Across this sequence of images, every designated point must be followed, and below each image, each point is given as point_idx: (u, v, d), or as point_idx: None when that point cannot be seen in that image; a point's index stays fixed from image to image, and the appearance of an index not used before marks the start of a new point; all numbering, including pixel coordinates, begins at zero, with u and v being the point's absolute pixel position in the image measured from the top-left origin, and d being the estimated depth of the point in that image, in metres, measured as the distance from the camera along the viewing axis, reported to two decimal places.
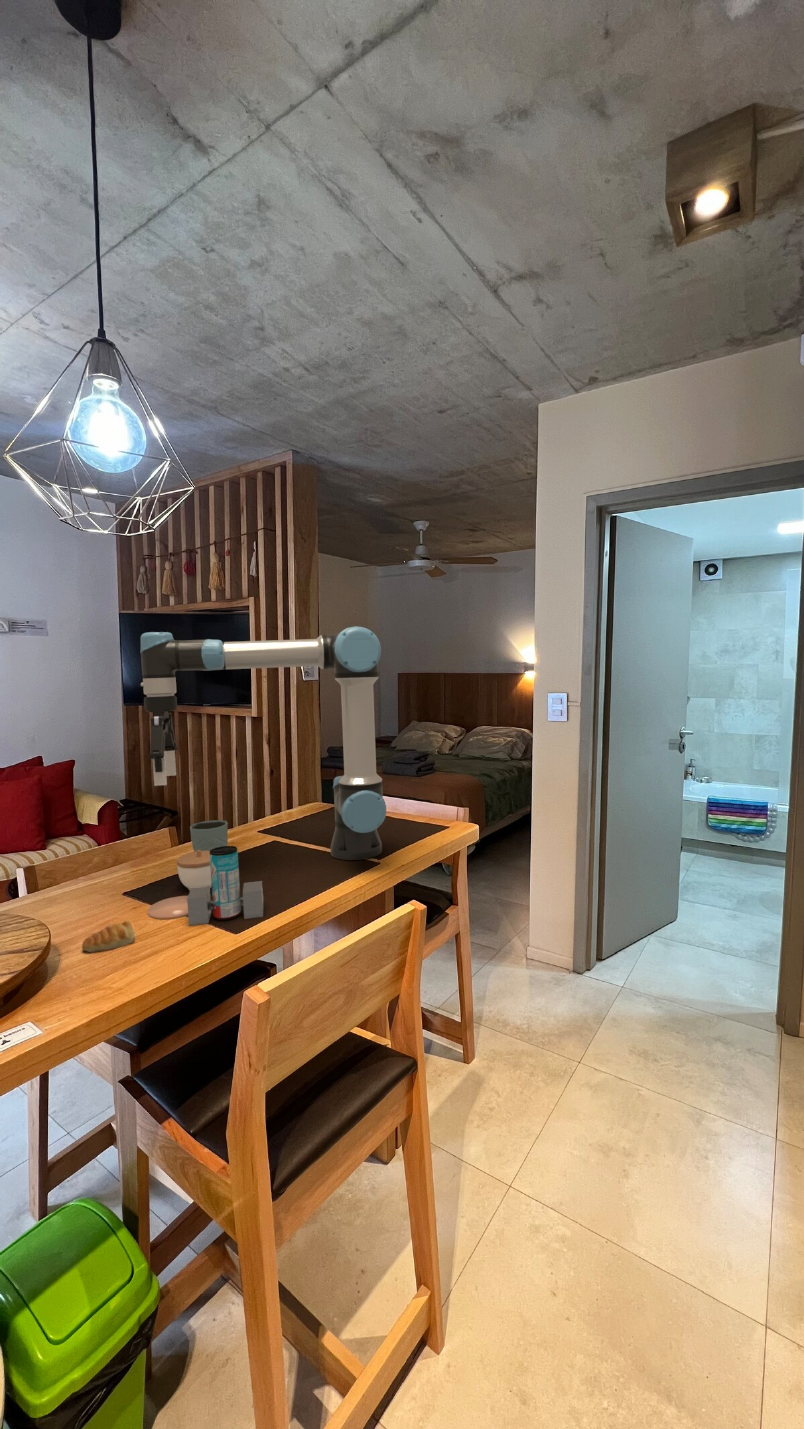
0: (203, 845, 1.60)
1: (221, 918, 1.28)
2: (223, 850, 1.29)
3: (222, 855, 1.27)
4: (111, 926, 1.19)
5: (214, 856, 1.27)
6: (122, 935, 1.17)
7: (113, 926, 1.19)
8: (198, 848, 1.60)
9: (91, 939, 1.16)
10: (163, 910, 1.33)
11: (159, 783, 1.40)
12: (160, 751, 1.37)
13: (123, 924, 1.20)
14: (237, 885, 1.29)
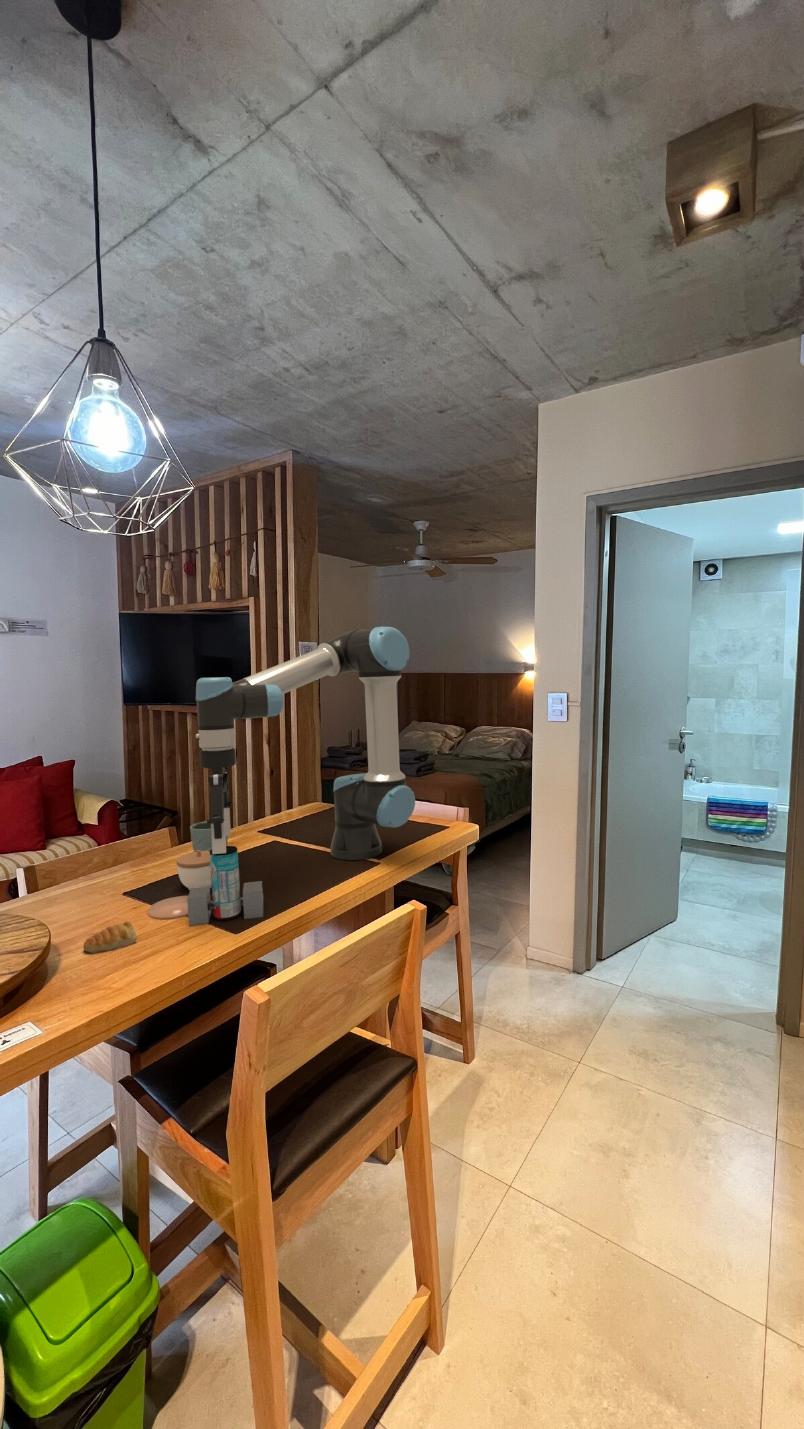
0: (203, 845, 1.60)
1: (221, 918, 1.28)
2: None
3: (222, 855, 1.27)
4: (112, 926, 1.19)
5: (214, 856, 1.27)
6: (124, 935, 1.17)
7: (114, 926, 1.19)
8: (198, 848, 1.60)
9: (92, 939, 1.15)
10: (163, 910, 1.33)
11: (218, 851, 1.22)
12: (221, 816, 1.19)
13: (125, 924, 1.20)
14: (237, 885, 1.29)
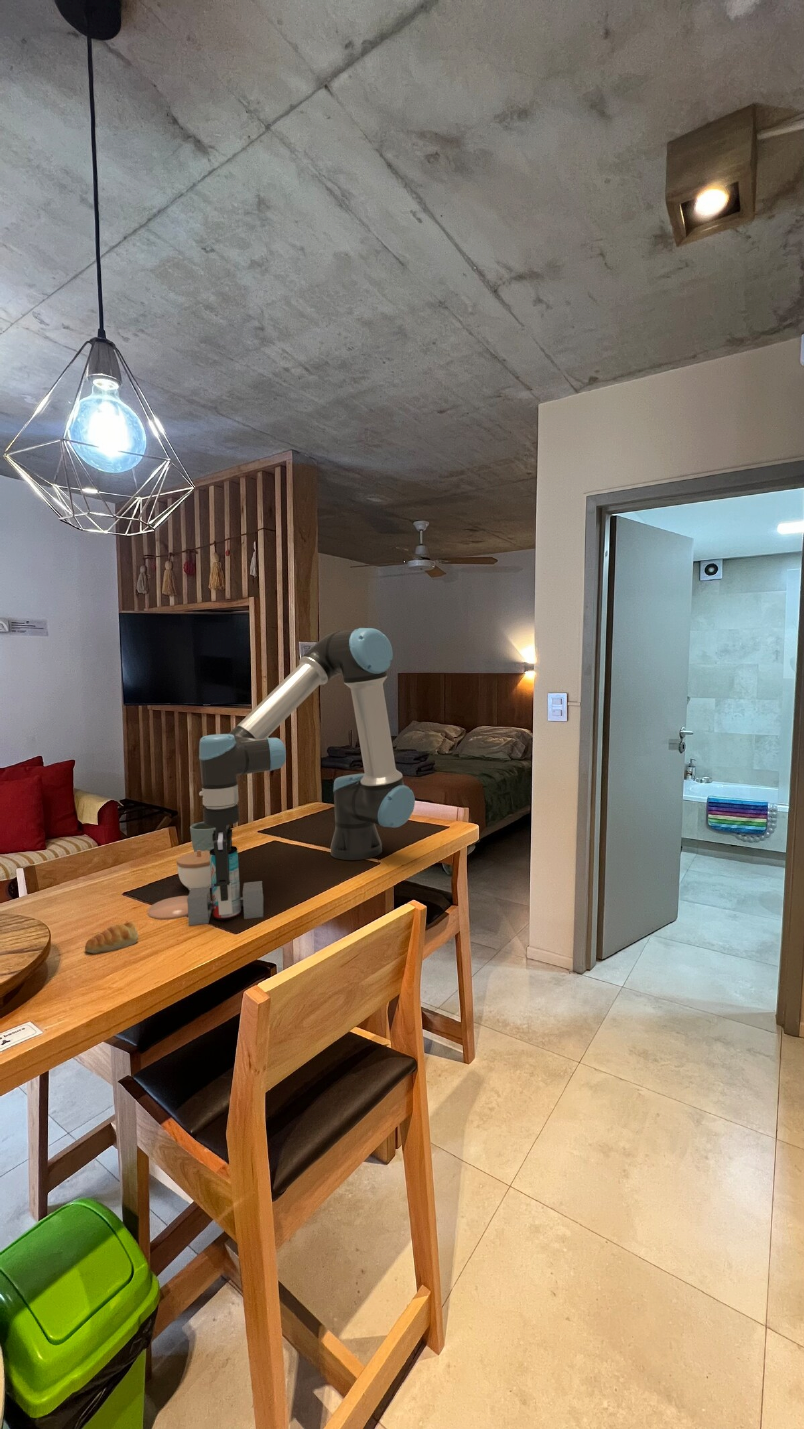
0: (203, 845, 1.60)
1: (221, 918, 1.28)
2: None
3: None
4: (114, 927, 1.19)
5: (214, 856, 1.27)
6: (126, 935, 1.17)
7: (116, 927, 1.19)
8: (198, 848, 1.60)
9: (94, 940, 1.15)
10: (163, 910, 1.33)
11: (224, 912, 1.27)
12: (227, 880, 1.24)
13: (126, 925, 1.20)
14: (237, 885, 1.29)
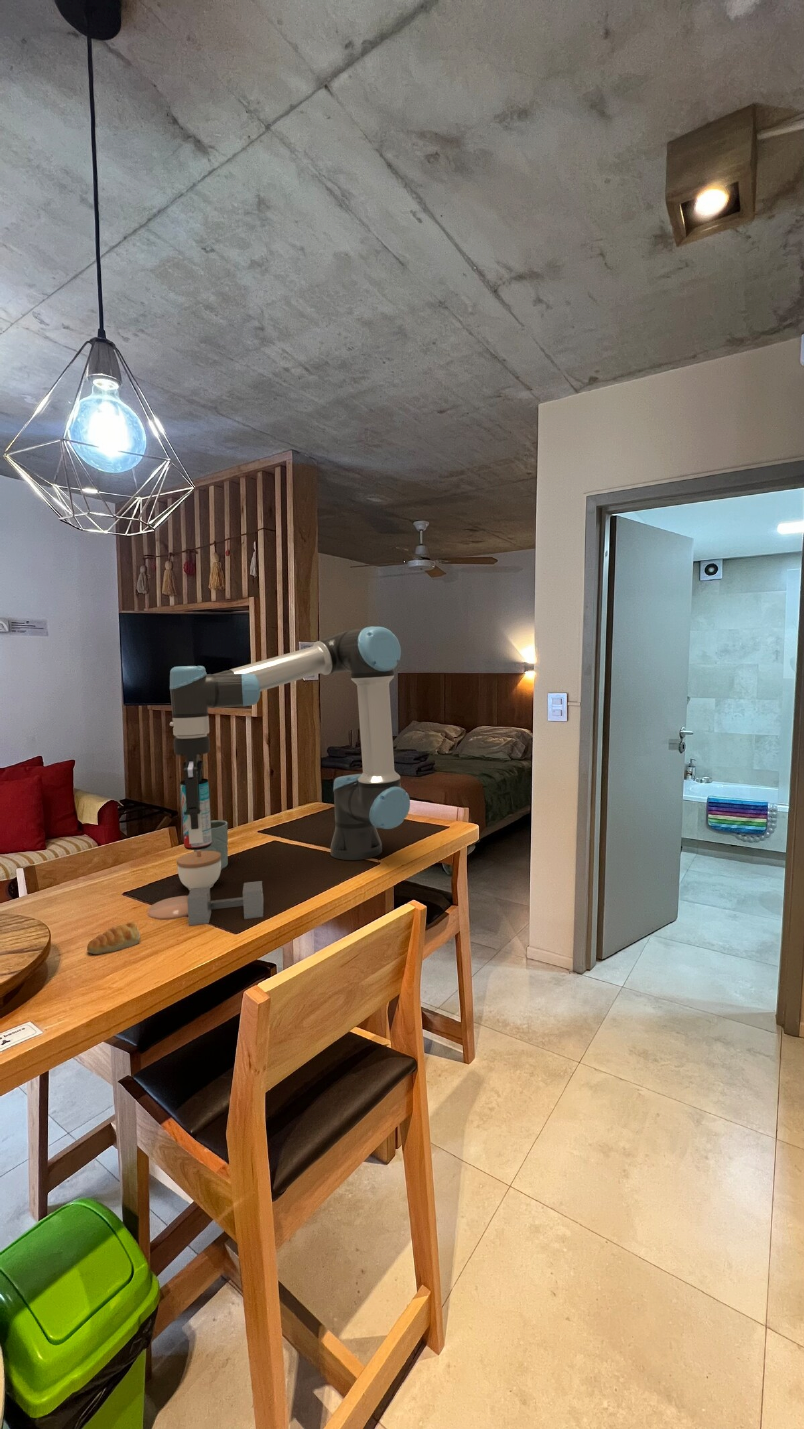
0: None
1: (191, 847, 1.29)
2: None
3: None
4: (115, 927, 1.18)
5: None
6: (128, 936, 1.17)
7: (118, 927, 1.18)
8: None
9: (96, 941, 1.15)
10: (163, 910, 1.33)
11: (195, 841, 1.28)
12: (197, 808, 1.25)
13: (128, 925, 1.20)
14: (208, 816, 1.30)
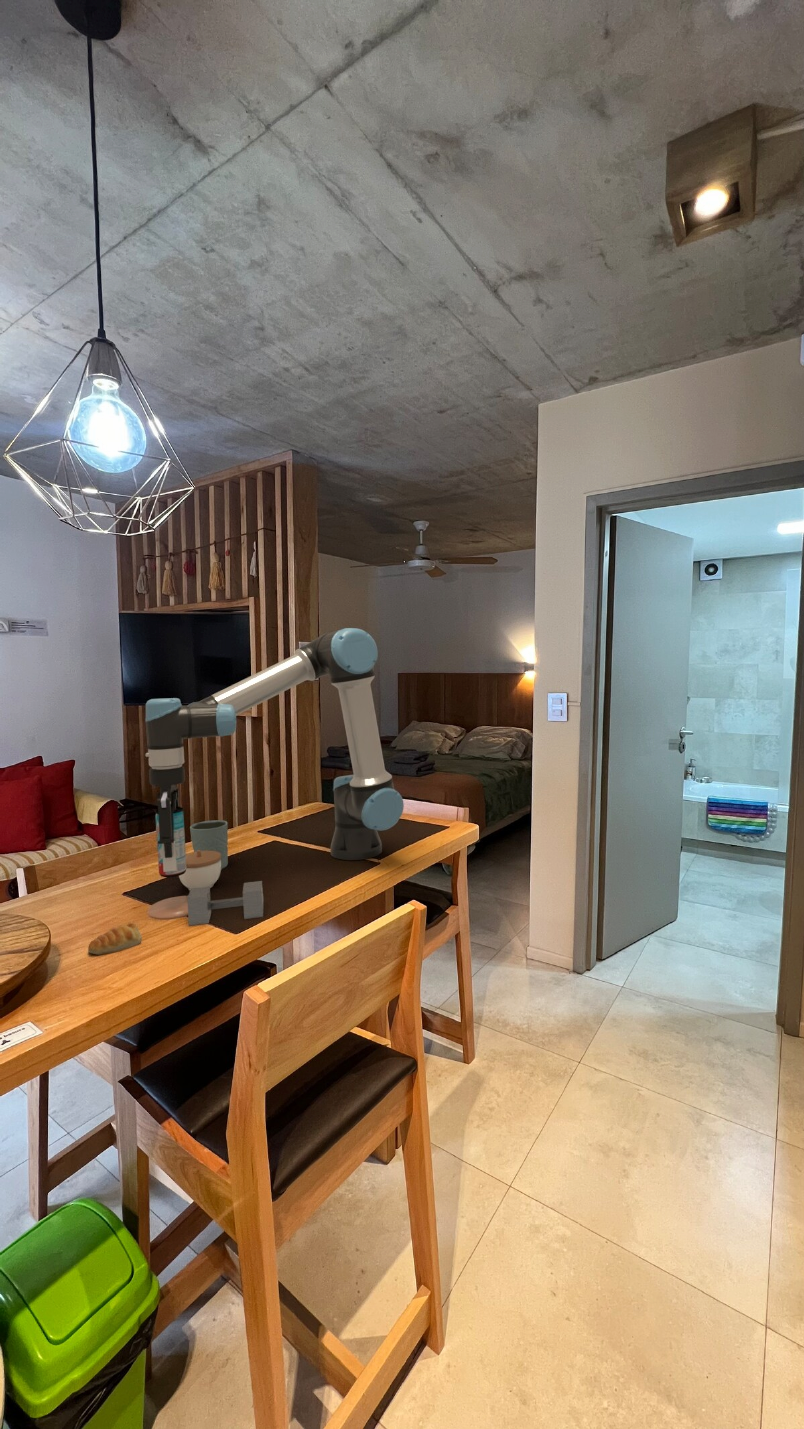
0: (203, 845, 1.60)
1: (166, 875, 1.32)
2: None
3: None
4: (117, 928, 1.18)
5: None
6: (130, 936, 1.17)
7: (119, 928, 1.18)
8: (198, 848, 1.60)
9: (98, 941, 1.15)
10: (163, 910, 1.33)
11: (169, 869, 1.31)
12: (170, 837, 1.28)
13: (129, 925, 1.20)
14: (182, 844, 1.34)
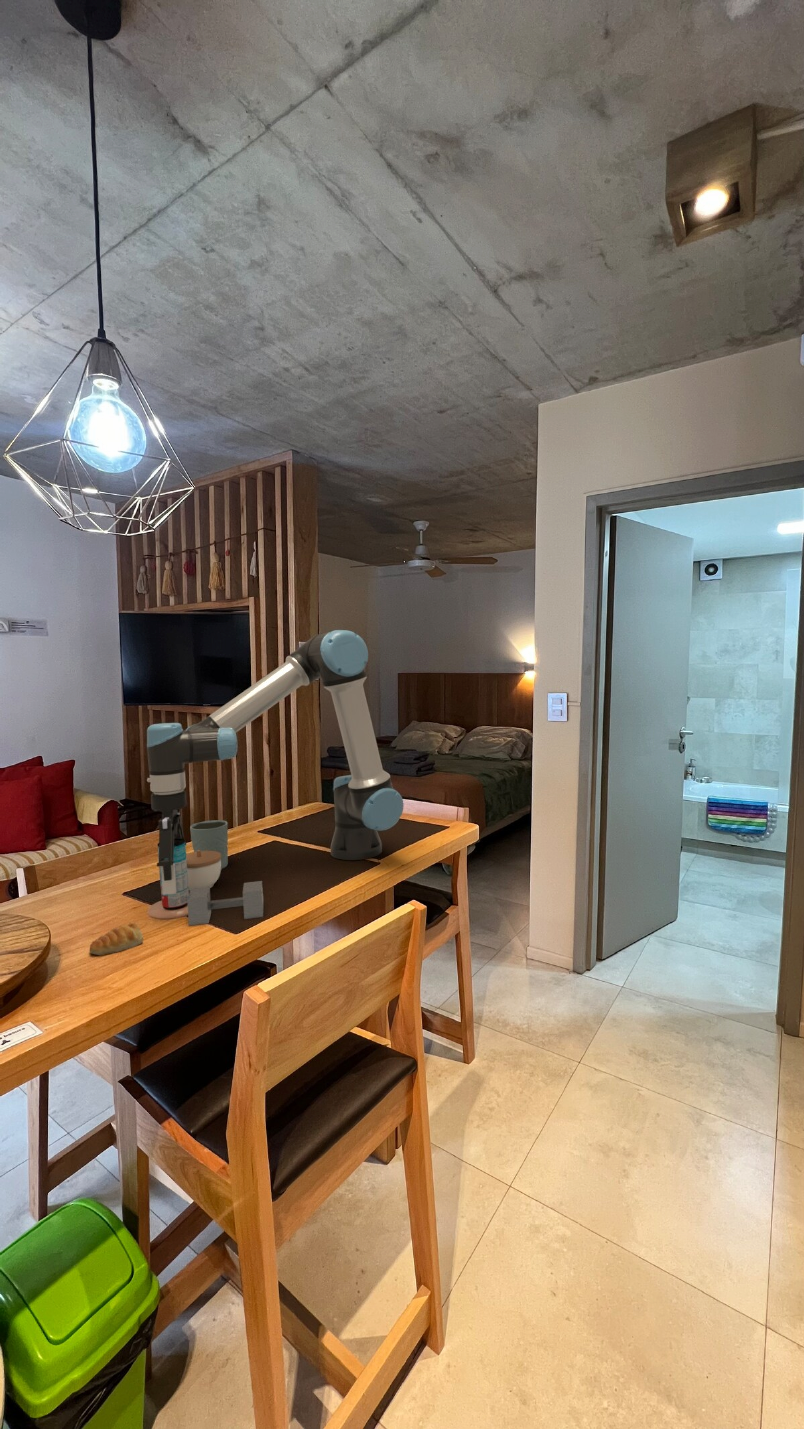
0: (203, 845, 1.60)
1: (169, 908, 1.33)
2: None
3: None
4: (118, 928, 1.18)
5: None
6: (131, 936, 1.17)
7: (120, 928, 1.18)
8: (198, 848, 1.60)
9: (99, 942, 1.14)
10: (163, 910, 1.33)
11: (168, 891, 1.29)
12: (169, 859, 1.26)
13: (130, 926, 1.19)
14: (184, 876, 1.34)
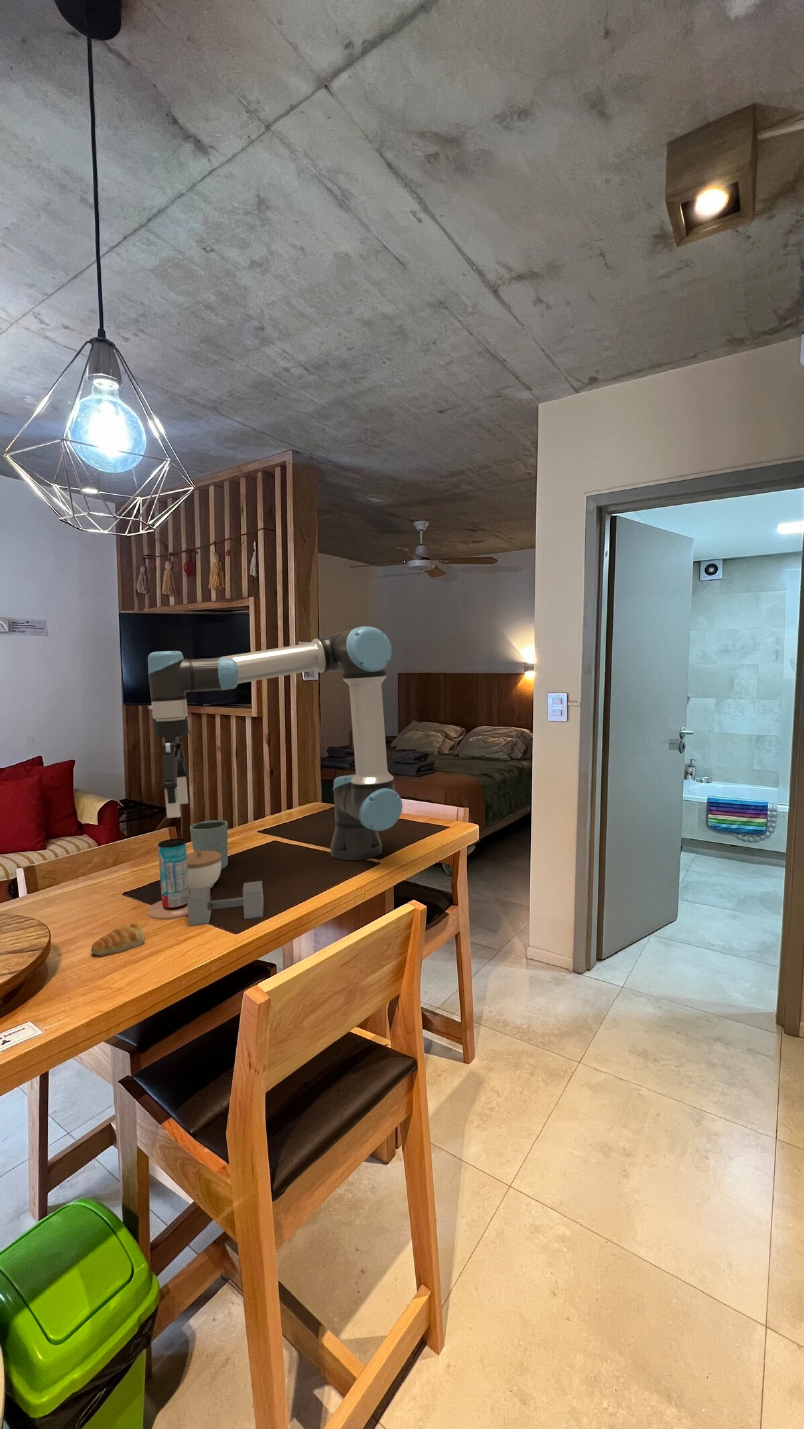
0: (203, 845, 1.60)
1: (169, 908, 1.33)
2: (171, 842, 1.34)
3: (169, 847, 1.32)
4: (119, 929, 1.18)
5: (162, 848, 1.32)
6: (133, 936, 1.17)
7: (122, 928, 1.18)
8: (198, 848, 1.60)
9: (101, 942, 1.14)
10: (163, 910, 1.33)
11: (172, 815, 1.29)
12: (173, 781, 1.26)
13: (131, 926, 1.19)
14: (185, 876, 1.34)
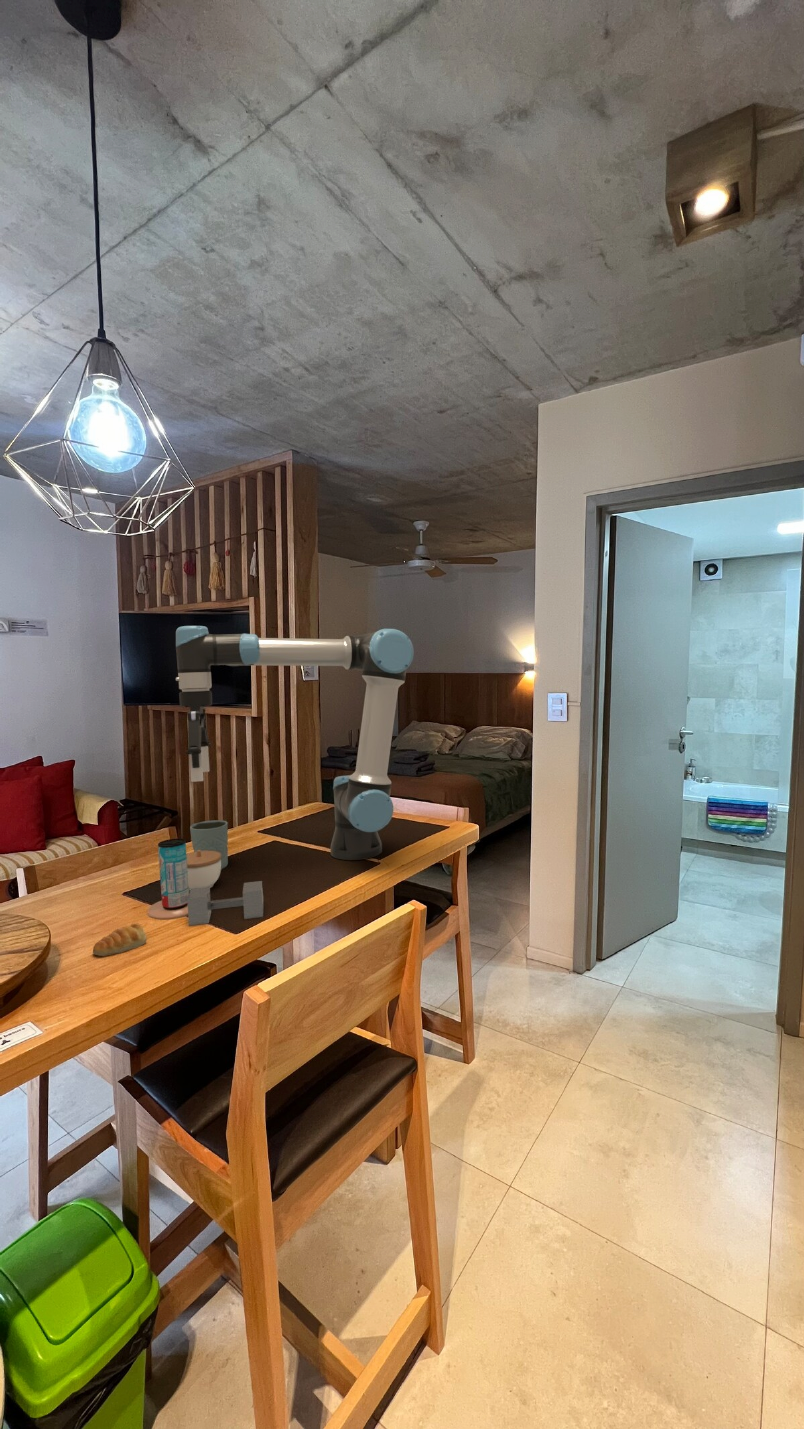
0: (203, 845, 1.60)
1: (169, 908, 1.33)
2: (171, 842, 1.34)
3: (169, 847, 1.32)
4: (121, 929, 1.18)
5: (162, 848, 1.32)
6: (135, 936, 1.16)
7: (123, 929, 1.18)
8: (198, 848, 1.60)
9: (103, 943, 1.14)
10: (163, 910, 1.33)
11: (196, 779, 1.38)
12: (198, 746, 1.35)
13: (133, 926, 1.19)
14: (185, 876, 1.34)
